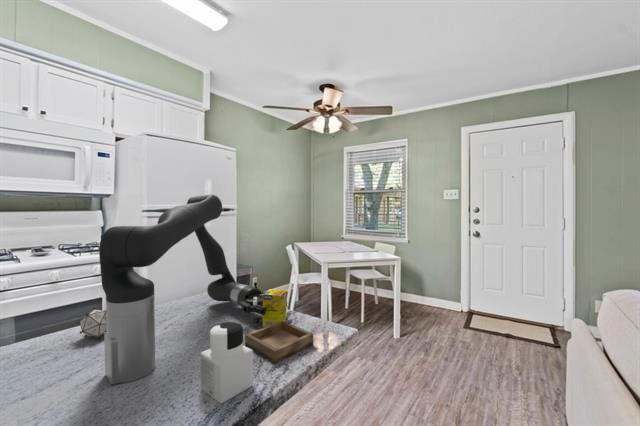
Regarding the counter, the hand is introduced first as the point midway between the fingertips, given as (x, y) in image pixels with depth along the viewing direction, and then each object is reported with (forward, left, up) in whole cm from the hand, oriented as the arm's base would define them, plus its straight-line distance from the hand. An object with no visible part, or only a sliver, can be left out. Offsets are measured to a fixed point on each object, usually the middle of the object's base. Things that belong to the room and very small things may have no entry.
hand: (275, 308), depth 91 cm
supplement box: (0, +1, -6) cm, 6 cm away
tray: (-7, -10, -6) cm, 13 cm away
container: (-26, -16, -6) cm, 31 cm away
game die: (-40, +33, -6) cm, 52 cm away
